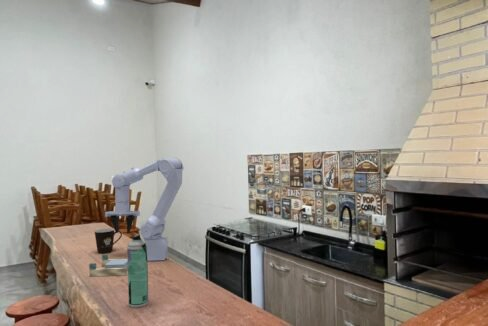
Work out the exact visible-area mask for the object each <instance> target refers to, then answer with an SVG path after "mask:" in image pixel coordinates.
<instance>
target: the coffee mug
mask: <svg viewBox="0 0 488 326" xmlns="http://www.w3.org/2000/svg"><path fill="white" fill-rule="evenodd" d="M118 233H119V234H120V236H119V237H118V238H117V240H114V239H115V238H114V237H115V235H116V234H117V233H116V232H115V229H114V228H101V229H96V230H94V238H95V244H96V250H97V254H100V255H103V254H110V253H112V252H113V250H114V245H115V244H116V243H117V242H119V240H120V239H121V238H122V236H123V233H122V232H121V231H120V230H119V232H118Z"/></svg>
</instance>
